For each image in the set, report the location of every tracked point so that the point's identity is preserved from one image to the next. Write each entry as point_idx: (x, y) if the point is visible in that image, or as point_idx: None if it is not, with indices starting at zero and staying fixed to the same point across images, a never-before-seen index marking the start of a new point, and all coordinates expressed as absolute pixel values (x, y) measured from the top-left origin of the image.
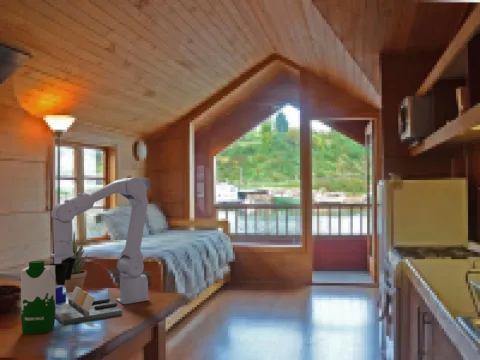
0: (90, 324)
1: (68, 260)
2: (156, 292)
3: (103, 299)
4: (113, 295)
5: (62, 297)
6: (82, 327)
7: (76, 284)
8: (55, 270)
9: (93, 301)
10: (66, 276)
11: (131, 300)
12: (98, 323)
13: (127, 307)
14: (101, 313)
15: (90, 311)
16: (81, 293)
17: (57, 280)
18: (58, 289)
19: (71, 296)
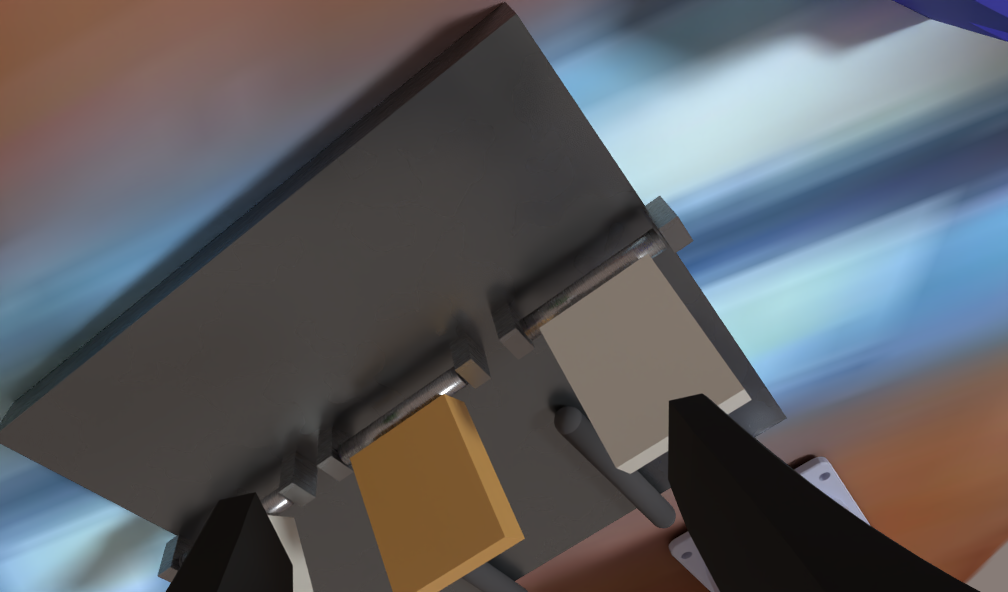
0: (113, 557)
1: None
2: (956, 578)
3: None
4: (998, 375)
5: (937, 12)
6: (14, 545)
7: None
8: None
9: (588, 455)
10: (697, 487)
11: (709, 579)
12: (156, 587)
13: (590, 578)
14: None
15: (335, 506)
16: (451, 529)
17: (188, 589)
18: (980, 12)
19: (650, 288)
